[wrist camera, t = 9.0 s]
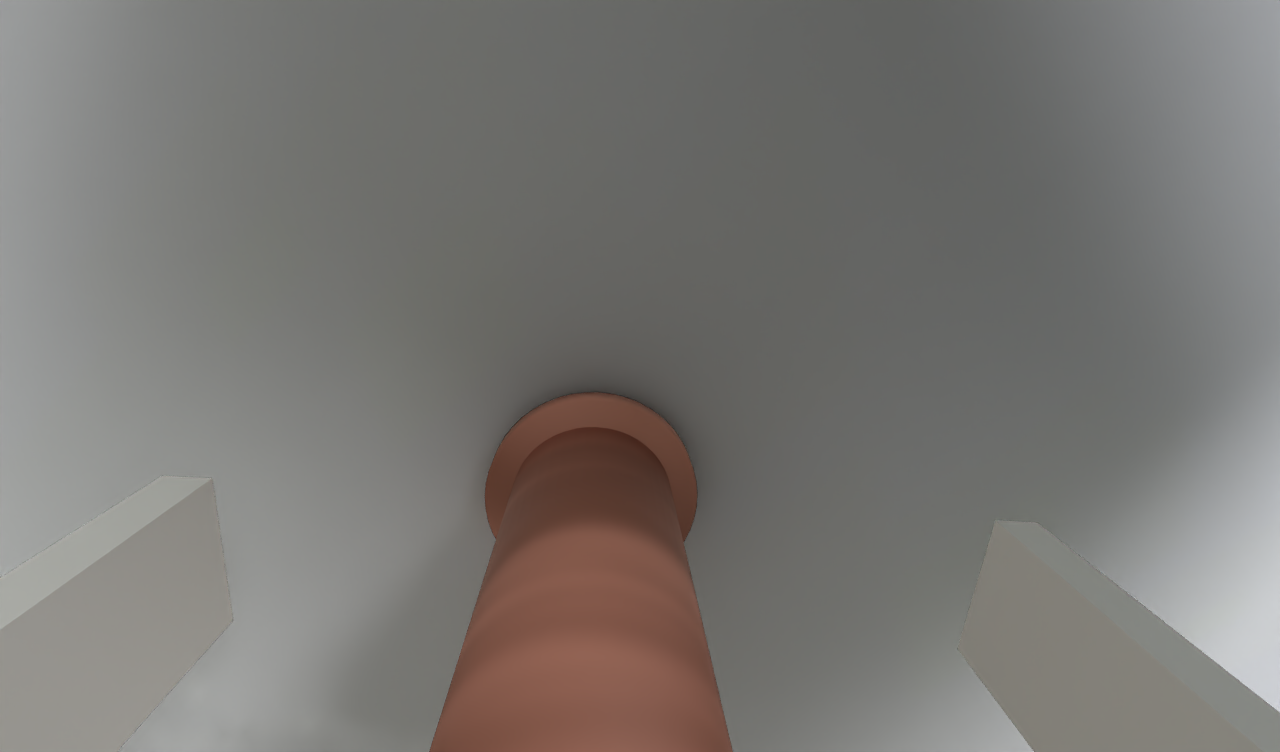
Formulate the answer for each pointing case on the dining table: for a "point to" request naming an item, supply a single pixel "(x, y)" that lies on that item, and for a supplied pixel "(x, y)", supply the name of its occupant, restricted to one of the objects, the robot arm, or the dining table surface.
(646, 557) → the block and peg linkage
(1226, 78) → the dining table surface
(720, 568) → the dining table surface
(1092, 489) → the dining table surface
